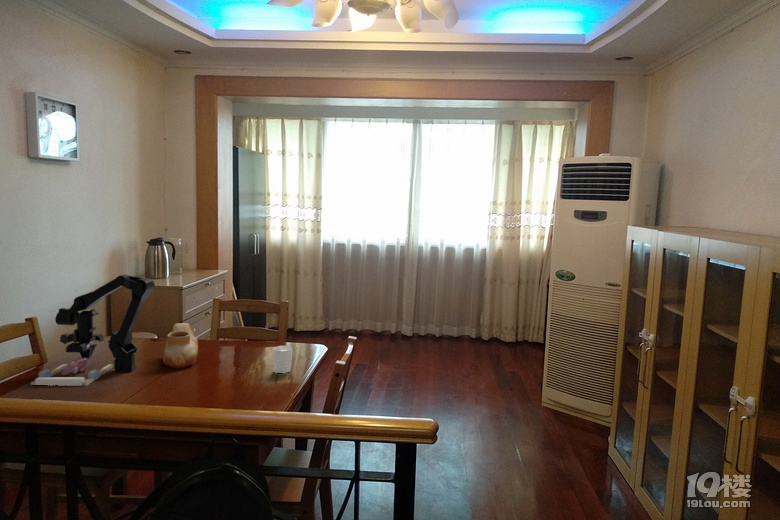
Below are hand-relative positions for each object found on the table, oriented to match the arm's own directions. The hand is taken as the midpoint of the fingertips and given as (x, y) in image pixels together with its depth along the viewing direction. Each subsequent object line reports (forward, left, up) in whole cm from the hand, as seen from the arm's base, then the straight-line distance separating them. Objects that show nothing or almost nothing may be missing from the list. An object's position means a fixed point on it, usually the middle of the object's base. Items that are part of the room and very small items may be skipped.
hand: (86, 363), depth 206 cm
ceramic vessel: (-34, -12, -2) cm, 36 cm away
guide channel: (0, +9, -2) cm, 9 cm away
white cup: (-79, +4, -2) cm, 79 cm away
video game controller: (+1, +5, -2) cm, 6 cm away
